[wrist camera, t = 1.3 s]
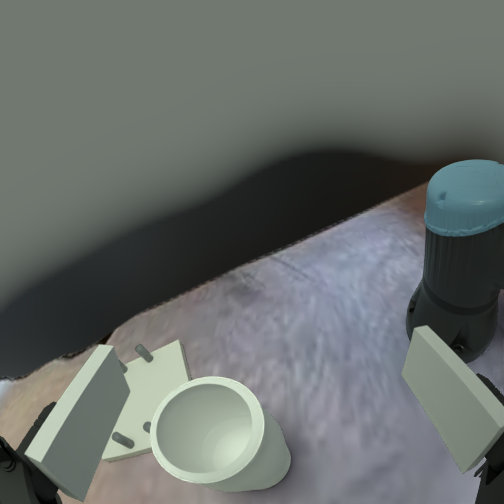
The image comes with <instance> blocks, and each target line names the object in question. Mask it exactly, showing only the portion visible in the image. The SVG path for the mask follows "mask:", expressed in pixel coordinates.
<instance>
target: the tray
mask: <svg viewBox="0 0 504 504" xmlns="http://www.w3.org/2000/svg"><path fill="white" fill-rule="evenodd" d="M135 350H136V352H137V353H138V354H139V355H140V356H141V357H140V358H138V359H136V360H134V361H131V362H129V363H127V364H125V365H124V364H123V363H122V362H121V361H120V360H119V359H118V360H119V363H120V366H121V368H122V371H123V374H124V376H125V379H126V381H127V384H128V386H129V389H130V391H131V392H130V394H129V396H128V399H127V401H126V403H125V405H124V407H123V409H122V412H121V414H120V416H119V418H118V420H117V423H116V425H115V427H114V429H113V431H112V434H111V436H110V438H109V441H108V443H107V445H106V448H105V450H104V452H103V455H102V460H105V461H107V462H112V461H117V460H121V459H125V458H130V457H134V456H138V455H141V454H145V453H149V452H152V447H151V443H150V427H151V422H152V419H153V416H154V414H155V412H156V410H157V408H158V407H159V405H160V404H161V402H162V401H163V400H164V399H165V398H166V396H168V395H169V394H170V393H171V392H172V391H173V390H175V389H176V388H177V387H179V386H181V385H183V384H184V383H187V382H189V381H191V376H190V372H189V368H188V364H187V360H186V356H185V352H184V348H183V344H182V343H181V342H180V341H179V340H177V341H174V342H172V343H170V344H168V345H166V346H164V347H162V348H160V349H158V350H155V351H153V352H151V353H149V352H148V351H147V350H146V349H145V348H144V346H143V345H141V344H139V345H137V346H136V348H135Z"/></svg>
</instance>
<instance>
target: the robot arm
mask: <svg viewBox="0 0 504 504" xmlns="http://www.w3.org/2000/svg"><path fill="white" fill-rule="evenodd" d="M424 221H425V224H426V240H425V258H424V270H423V278H422V280H421V282H420V283H419V285H418V287H417V289H416V291H415V292H414V294H413V296H412V298H411V300H410V302H409V306H408V310H407V318H406V329H407V333H408V336H409V339H410V341H411V343H410V346H409V350H408V354H407V357H406V360H405V364H404V367H403V370H402V373H401V375H402V377H403V378H404V380H405V381H406V383H407V384H408V386H409V387H410V389H411V390H412V392H413V393H414V395H415V396H416V398H417V400H418V401H419V403H420V404H421V406H422V407H423V409H424V410H425V412H426V414H427V415H428V417H429V418H430V420H431V421H432V423H433V425H434V426H435V428H436V429H437V431H438V433H439V434H440V436H441V438H442V439H443V441H444V443H445V444H446V446H447V448H448V449H449V451H450V453H451V454H452V456H453V458H454V460H455V461H456V463H457V465H458V467H459V468H460V470H461V472H462V474H463V473H465V472H467V471H468V470H470V469H472V468H473V467H475V466H476V465H477V464H478V463H479V462H480V461H481V460H482V459H483V458H484V456H485V458H486V459H487V460H486V462H485V463H484V464H483V465H482V466H481V467H480V468H479V469H478V470H477V471H476V472H475V475H474V477H476V476H477V475H478V474H479V473H480V472H481V471H482V470H483V471H482V473H481V475H480V476H479V477H481V481H480V485H479V490H478V494H477V498H476V501H475V504H504V396H503V395H502V394H500V391H499V390H498V389H497V388H495V386H494V385H493V384H492V383H491V382H490V380H489V379H487V378H486V377H484V376H482V375H480V374H479V373H478V374H476V375H475V374H474V372H473V371H472V370H471V369H470V368H469V367H468V366H467V365H466V364H465V363H468V362H470V361H472V360H474V359H476V358H477V357H478V356H480V355H481V354H482V353H483V352H484V351H485V349H486V348H487V346H488V345H489V343H490V341H491V339H492V337H493V335H494V332H495V329H496V325H497V312H498V295H499V293H500V290H501V289H504V165H499V163H498V162H494V161H488V160H467V161H461V162H457V163H453V164H451V165H449V166H446V167H444V168H442V169H441V170H439V171H438V172H437V173H436V174H435V175H434V176H433V177H432V178H431V180H430V182H429V184H428V188H427V202H426V211H425V214H424ZM130 392H131V391H130V389H129V386H128V384H127V381H126V379H125V376H124V374H123V371H122V368H121V366H120V363H119V360H118V357H117V354H116V351H115V349H114V346H108V345H99V346H98V347H97V349H96V350H95V351H94V353H93V354H92V355H91V357H90V358H89V359H88V361H87V362H86V363H85V365H84V366H83V367H82V369H81V370H80V371H79V373H78V374H77V376H76V377H75V378H74V380H73V381H72V382H71V384H70V385H69V387H68V388H67V390H66V391H65V392H64V394H63V395H62V397H61V398H60V400H59V401H58V402H57V403H56V402H52V403H51V404H49V405H48V406H47V407H45V408H44V409H43V411H42V412H41V413H40V415H39V416H38V419H36V421H35V422H34V425H33V426H32V427H31V428H30V430H29V431H28V433H27V434H26V436H25V437H24V439H23V440H22V442H21V444H20V445H19V447H18V448H17V450H16V451H14V450H13V449H12V447H11V446H10V445H9V444H8V443H7V441H6V440H5V439H4V438H3V437H1V436H0V504H62V501H61V498H60V496H59V495H58V493H57V491H58V489H60V490H61V491H62V492H63V493H65V494H66V495H67V496H69V497H72V498H74V499H76V500H79V501H81V502H84V499H85V497H86V494H87V492H88V489H89V486H90V484H91V481H92V479H93V476H94V474H95V471H96V469H97V467H98V464H99V462H100V459H101V457H102V455H103V452H104V450H105V448H106V445H107V443H108V441H109V438H110V436H111V434H112V431H113V429H114V427H115V425H116V423H117V420H118V418H119V416H120V414H121V412H122V409H123V407H124V405H125V403H126V401H127V399H128V396H129V394H130Z"/></svg>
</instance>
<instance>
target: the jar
mask: <svg viewBox="0 0 504 504" xmlns="http://www.w3.org/2000/svg"><path fill="white" fill-rule="evenodd" d="M150 443H151V447H152V451H153V453H154V455H155V457H156V459H157V461H158V462H159V463H160V465H161V466H162V467H163V468H164V469H165V470H166V471H167V472H169V473H170V474H172V475H173V476H175V477H177V478H179V479H181V480H184V481H187V482H190V483H195V484H201V485H203V486H206V487H208V488H211V489H215V490H219V491H226V492H242V491H249V490H261V489H266V488H269V487H271V486H273V485H275V484H277V483H278V482H280V481H281V480H282V479H283V478H284V477H285V475H286V474H287V472H288V470H289V467H290V463H291V456H290V452H289V449H288V447H287V446H286V442H285V439H284V435H283V433H282V430H281V428H280V427H279V425H278V423H277V422H276V420H275V419H274V418H273V417H272V416H271V414H270V413H269V412H268V411H267V410H265V409H264V408H263V407H262V406H261V404H260V403H259V401H258V399H257V398H256V397H255V395H254V394H253V393H252V392H251V391H250V390H249V389H248V388H247V387H245V386H244V385H242V384H241V383H239V382H237V381H235V380H232V379H229V378H224V377H202V378H198V379H194V380H191V381H189V382H187V383H184V384H183V385H181V386H179V387H177V388H176V389H175V390H173V391H172V392H171V393H170V394H169V395H168V396H166V398H165V399H164V400H163V401H162V402H161V404H160V405H159V407H158V408H157V410H156V412H155V414H154V416H153V419H152V422H151V427H150Z"/></svg>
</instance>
